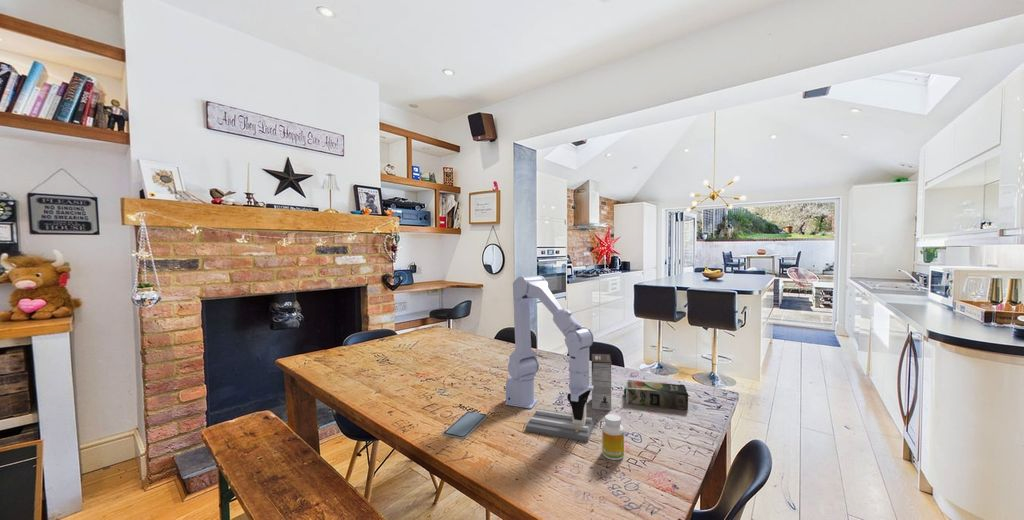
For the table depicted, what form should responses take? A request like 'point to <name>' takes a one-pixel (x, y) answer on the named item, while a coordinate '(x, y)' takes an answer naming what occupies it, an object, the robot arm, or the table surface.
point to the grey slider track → (559, 425)
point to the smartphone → (465, 425)
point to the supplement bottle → (613, 437)
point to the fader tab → (580, 422)
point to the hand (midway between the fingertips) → (579, 416)
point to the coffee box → (601, 381)
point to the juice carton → (656, 394)
